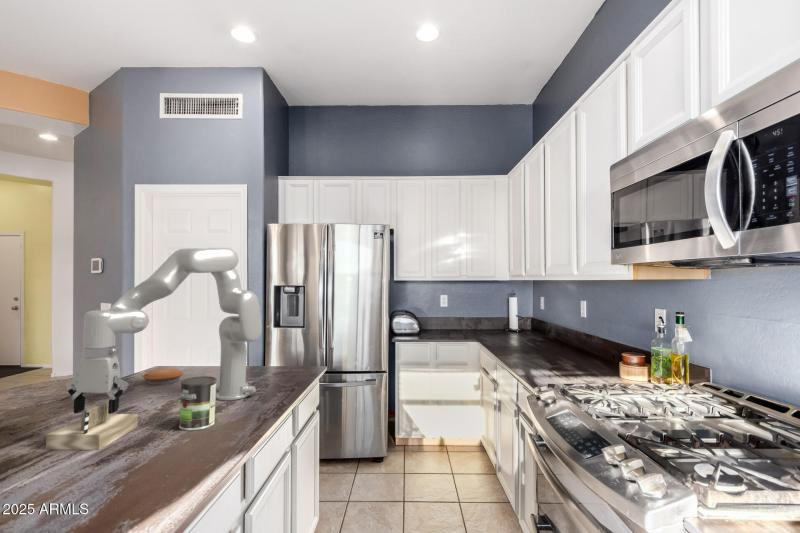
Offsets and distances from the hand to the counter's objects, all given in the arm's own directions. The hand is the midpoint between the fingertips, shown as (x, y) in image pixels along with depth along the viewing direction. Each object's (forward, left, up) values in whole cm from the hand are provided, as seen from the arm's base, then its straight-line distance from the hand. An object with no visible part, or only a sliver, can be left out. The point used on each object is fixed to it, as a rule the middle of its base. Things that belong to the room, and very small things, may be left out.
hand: (96, 412), depth 113 cm
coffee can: (-24, -11, -7) cm, 27 cm away
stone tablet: (-1, +2, -4) cm, 4 cm away
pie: (+15, -60, -8) cm, 62 cm away
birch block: (0, 0, -7) cm, 7 cm away
